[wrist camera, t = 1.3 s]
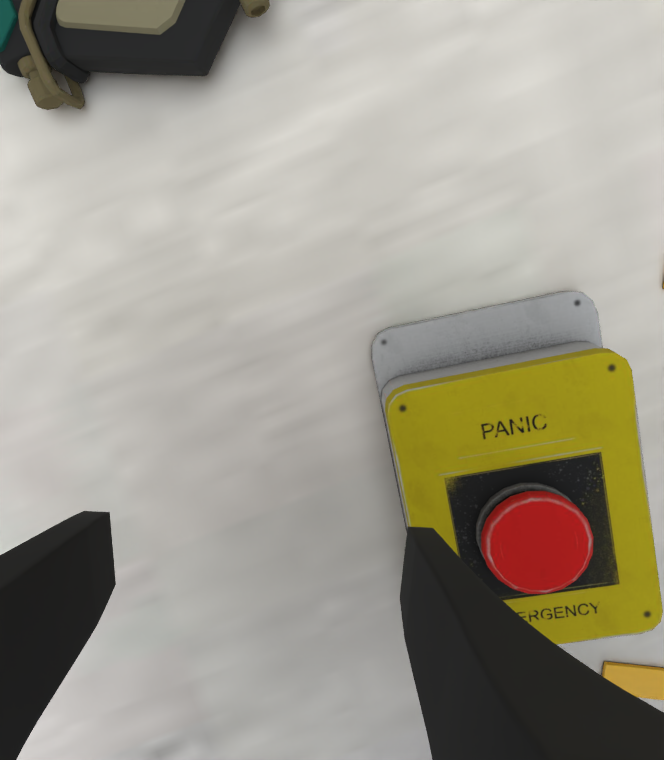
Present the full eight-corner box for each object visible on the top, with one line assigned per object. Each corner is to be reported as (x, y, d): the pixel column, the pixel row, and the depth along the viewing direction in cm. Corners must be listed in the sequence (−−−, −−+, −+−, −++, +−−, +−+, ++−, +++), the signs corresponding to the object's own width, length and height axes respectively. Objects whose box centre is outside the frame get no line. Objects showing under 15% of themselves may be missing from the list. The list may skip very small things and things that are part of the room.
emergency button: (441, 719, 18) (364, 338, 16) (428, 641, 23) (366, 332, 21) (697, 691, 17) (647, 280, 15) (632, 615, 22) (587, 286, 20)
